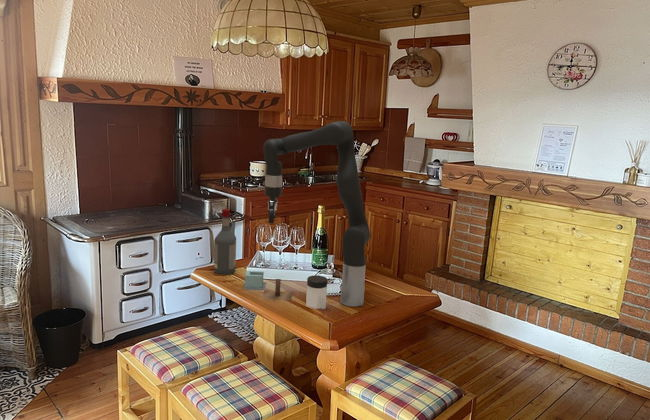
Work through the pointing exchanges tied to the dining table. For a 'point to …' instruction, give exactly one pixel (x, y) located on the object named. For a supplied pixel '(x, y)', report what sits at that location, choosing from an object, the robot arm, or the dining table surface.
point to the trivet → (257, 288)
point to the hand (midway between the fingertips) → (272, 221)
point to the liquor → (225, 248)
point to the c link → (254, 279)
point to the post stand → (277, 293)
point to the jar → (316, 292)
